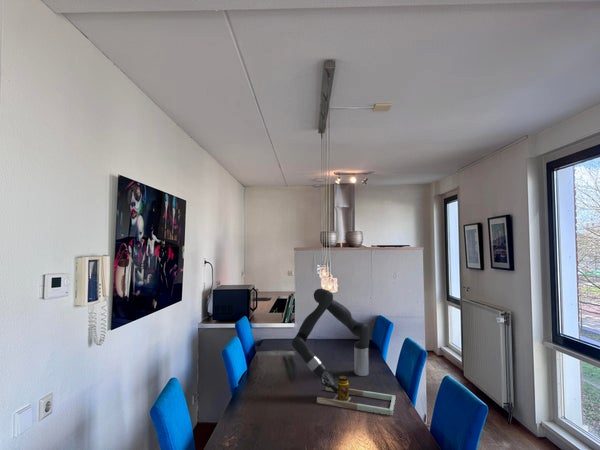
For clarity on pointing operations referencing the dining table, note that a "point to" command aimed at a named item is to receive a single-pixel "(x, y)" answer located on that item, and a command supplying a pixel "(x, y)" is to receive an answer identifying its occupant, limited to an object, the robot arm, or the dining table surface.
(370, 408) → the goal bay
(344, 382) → the condiment
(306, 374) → the dining table surface
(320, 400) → the wooden guide rails
